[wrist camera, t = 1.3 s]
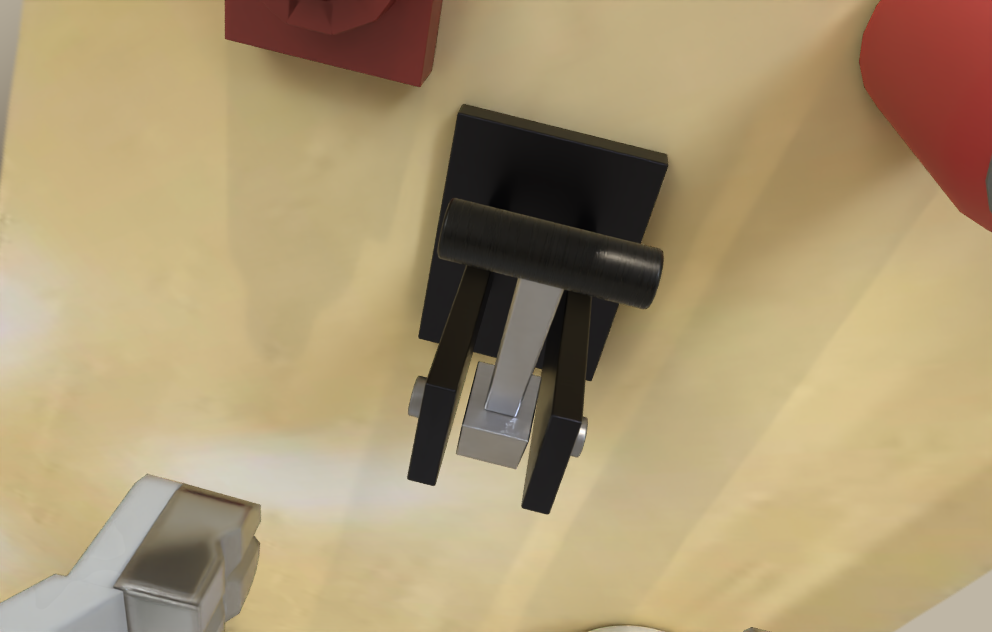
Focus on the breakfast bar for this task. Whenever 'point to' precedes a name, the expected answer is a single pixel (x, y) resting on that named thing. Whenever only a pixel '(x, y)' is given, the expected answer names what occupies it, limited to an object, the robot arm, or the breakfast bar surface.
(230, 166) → the breakfast bar surface
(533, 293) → the lever
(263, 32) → the button box
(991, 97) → the beer can
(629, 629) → the paper bowls
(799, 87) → the breakfast bar surface
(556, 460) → the bracket
